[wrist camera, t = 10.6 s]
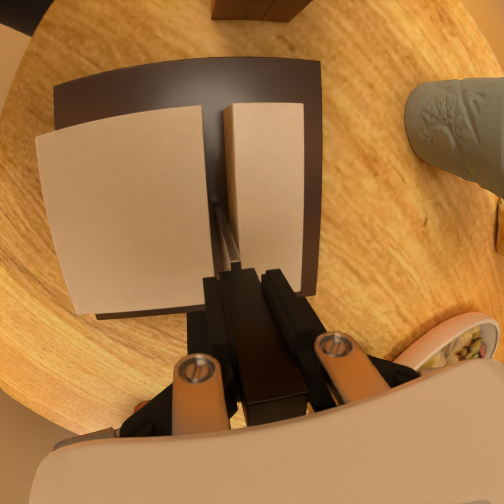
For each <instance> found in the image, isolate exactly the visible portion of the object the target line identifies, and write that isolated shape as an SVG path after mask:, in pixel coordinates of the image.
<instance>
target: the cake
mask: <svg viewBox="0 0 504 504" xmlns="http://www.w3.org/2000/svg"><path fill="white" fill-rule="evenodd" d="M35 144H36V154H37V162H38V170H39V177H40V183H41V189H42V195H43V200H44V205H45V210H46V215H47V219H48V224H49V228H50V232H51V236H52V240H53V244H54V248H55V252H56V255H57V259H58V262H59V265H60V269H61V272H62V275H63V278H64V281H65V284H66V287H67V290H68V293H69V296H70V299H71V302H72V304H73V307H74V310H75V312H76V315H87V314H102V313H115V312H128V311H140V310H151V309H161V308H172V307H181V306H191V305H200V304H205V300H204V290H203V279H202V278H205V277H213V276H215V275H214V265H213V255H212V245H211V234H210V222H209V211H208V198H207V185H206V171H205V155H204V139H203V120H202V106H201V105H196V106H185V107H175V108H167V109H159V110H152V111H145V112H138V113H132V114H126V115H121V116H115V117H110V118H105V119H100V120H96V121H91V122H87V123H83V124H79V125H75V126H71V127H67V128H63V129H59V130H56V131H52V132H49V133H46V134H42V135H39V136H36V137H35Z"/></svg>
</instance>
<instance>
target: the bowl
mask: <svg viewBox="0 0 504 504" xmlns="http://www.w3.org/2000/svg"><path fill="white" fill-rule="evenodd" d="M499 338H500V327H499V324H498V323H497V322H496V321H495V320H494V319H493V318H492V317H490V316H489V315H487V314H484V313H480V312H469V313H464V314H460V315H457V316H454V317H452V318H450V319H448V320H446V321H444V322H442V323H440V324H439V325H437V326H435V327H434V328H432V329H431V330H430V331H428V332H427V333H425V334H424V335H423V336H421V337H420V338H419V339H417V340H416V341H415V342H414V343H413V344H411V345H410V346H409V347H408V348H407V349H406V350H405V351H403V352H402V353H401V354H400V355H399V356H398V357H397V358H396V359H395V360H394V361H393V362H394V363H397V364H401V365H405V366H408V367H410V368H413V369H414V370H415V371H417V372H418V370H419V369H423V368H435V367H446V366H448V365H451V364H454V363H457V362H460V361H465V360H470V359H476V358H491V359H492V358H493V356H494V354H495V352H496V349H497V346H498V342H499Z"/></svg>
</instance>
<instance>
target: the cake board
mask: <svg viewBox="0 0 504 504" xmlns="http://www.w3.org/2000/svg"><path fill="white" fill-rule="evenodd" d="M233 103H302V104H303V107H304V214H303V247H302V270H301V289H300V291H298V292H294V293H295V294H296V296H297V297H301V296H304V297H306V296H312V295H315V294H316V283H317V270H318V256H319V240H320V221H321V196H322V88H321V64H320V61H314V60H304V59H292V58H276V57H211V58H195V59H183V60H173V61H165V62H157V63H150V64H144V65H138V66H132V67H126V68H121V69H116V70H111V71H107V72H103V73H98V74H94V75H90V76H86V77H82V78H79V79H75V80H72V81H68V82H65V83H62V84H59V85H55V86H54V117H55V131H56V130H59V129H63V128H67V127H71V126H75V125H79V124H83V123H87V122H91V121H96V120H100V119H105V118H110V117H115V116H121V115H126V114H132V113H138V112H145V111H152V110H159V109H167V108H175V107H185V106H196V105H201V106H202V120H203V139H204V155H205V171H206V185H207V198H208V211H209V222H210V234H211V245H212V255H213V265H214V275H215V276H216V279H217V280H219V278H218V272H222V271H224V268H223V263H222V259H221V255H220V250H219V246H218V242H217V232H216V220H215V207H220V206H221V207H222V210H223V212H224V215H225V218H226V221H227V223H228V226H229V212H228V195H227V177H226V158H225V138H224V116H223V110H224V109H225V108H227V107H228V106H230V105H231V104H233ZM229 229H230V228H229ZM200 310H205V304H200V305H191V306H181V307H172V308H161V309H151V310H140V311H128V312H115V313H102V314H95V315H96V318H97V320H106V319H120V318H133V317H145V316H156V315H167V314H177V313H187V312H191V311H200Z"/></svg>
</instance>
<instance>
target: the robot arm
mask: <svg viewBox="0 0 504 504" xmlns="http://www.w3.org/2000/svg"><path fill="white" fill-rule="evenodd" d="M202 279H203V290H204V300H205V310H200V311H191V312H187V348H188V356H185V357H183V358H182V359H180V360H179V361H178V362H177V364H176V365H175V367H174V372H173V383H172V384H170V385H169V386H168V387H167V388H165V389H164V390H163V391H162V392H161V393H159V394H158V395H157V396H156V397H154V398H153V399H152V400H151V401H149V402H148V403H147V404H146V405H144V406H143V407H142V408H141V409H139V410H138V411H137V412H135V413H134V414H133V415H132V416H130V417H129V418H128V419H127V420H126V421H125V422H124V423H123V424H122V426H121V428H119V429H115V430H114V429H113V428H112V427H111V428H107V429H104V430H100V431H96V432H93V433H89V434H85V435H81V436H77V437H73V438H69V439H64V440H62V441H60V442H58V443H57V444H56V445H55V446H54V449H53V451H52V452H51V453H50V454H48V455H47V456H46V457H45V458H44V459H43V461H42V462H41V464H40V465H39V468H38V470H37V472H36V475H35V478H34V481H33V485H32V488H31V493H30V497H29V503H28V504H504V364H503V363H502V362H500V361H498V360H496V359H491V358H476V359H470V360H465V361H460V362H457V363H454V364H451V365H448V366H446V367H435V368H423V369H419V370H418V372H417V371H415V370H414V369H413V368H410V367H408V366H405V365H401V364H397V363H394V362H390V361H387V360H383V359H380V358H376V357H373V356H370V355H366V354H365V353H364V352H363V350H362V349H361V348H360V346H359V345H358V344H357V342H356V341H355V340H354V339H353V338H352V337H351V336H349V335H347V334H345V333H342V332H335V331H332V332H327V331H326V329H325V328H324V326H323V324H322V323H321V321H320V320H319V318H318V317H317V315H316V313H315V312H314V310H313V309H312V307H311V306H310V304H309V302H308V301H307V299H306V298H305V297H304V296H301V297H297V296H296V294H295V293H294V291H293V289H292V288H291V286H290V284H289V283H288V281H287V279H286V278H285V276H284V274H283V273H282V271H281V269H280V268H279V269H271V270H266V272H265V274H261V285H262V288H263V290H264V292H265V294H266V297H267V299H268V301H269V304H270V306H271V308H272V310H273V313H274V315H275V317H276V320H277V322H278V324H279V326H280V329H281V331H282V333H283V336H284V338H285V340H286V342H287V345H288V347H289V348H290V349H291V351H292V354H293V356H294V358H295V360H296V363H297V365H298V367H299V369H300V372H301V374H302V376H303V378H304V381H305V383H306V385H307V387H308V389H309V398H308V404H307V409H308V411H309V414H308V415H304V416H300V417H296V418H292V419H287V420H282V421H278V422H273V423H268V424H262V425H257V426H251V427H245V428H239V429H232V430H231V425H230V418H231V417H232V416H233V415H234V414H235V413H236V412H237V411H238V407H237V402H241V399H240V394H239V385H238V376H237V367H236V357H237V352H236V344H235V338H234V333H233V329H232V324H231V320H230V315H229V311H228V306H227V301H226V297H225V292H224V287H223V283H222V279H219V280H217V279H216V276H213V277H205V278H202Z"/></svg>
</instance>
